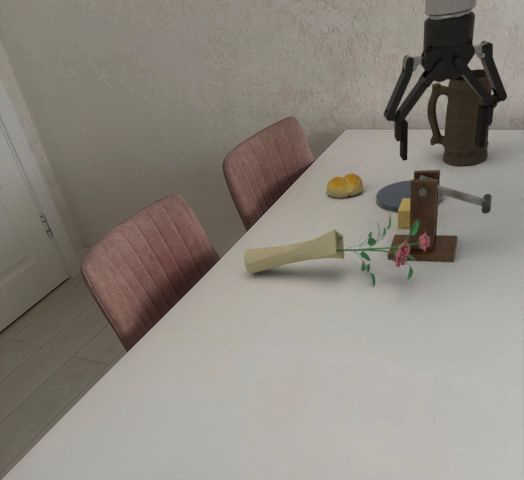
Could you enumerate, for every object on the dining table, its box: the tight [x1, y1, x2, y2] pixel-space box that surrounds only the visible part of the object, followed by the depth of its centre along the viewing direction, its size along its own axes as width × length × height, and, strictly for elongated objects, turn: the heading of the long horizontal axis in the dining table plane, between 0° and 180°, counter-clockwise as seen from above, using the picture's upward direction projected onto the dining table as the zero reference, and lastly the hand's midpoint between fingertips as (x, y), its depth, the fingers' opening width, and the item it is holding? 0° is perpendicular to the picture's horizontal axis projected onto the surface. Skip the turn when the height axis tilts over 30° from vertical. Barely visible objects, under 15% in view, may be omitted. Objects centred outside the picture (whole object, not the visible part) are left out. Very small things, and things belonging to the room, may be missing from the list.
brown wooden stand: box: [387, 169, 459, 263], centre depth 92 cm, size 12×8×15 cm, turn 69°
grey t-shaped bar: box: [419, 175, 493, 215], centre depth 88 cm, size 13×5×2 cm, turn 69°
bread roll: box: [325, 173, 364, 199], centre depth 123 cm, size 8×9×4 cm
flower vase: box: [243, 215, 430, 287], centre depth 92 cm, size 12×12×35 cm
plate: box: [375, 179, 445, 213], centre depth 115 cm, size 15×15×1 cm
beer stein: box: [426, 68, 493, 167], centre depth 123 cm, size 15×11×20 cm
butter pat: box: [397, 198, 410, 229], centre depth 106 cm, size 6×4×4 cm
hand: (441, 151), depth 91 cm, fingers open, 13 cm apart
